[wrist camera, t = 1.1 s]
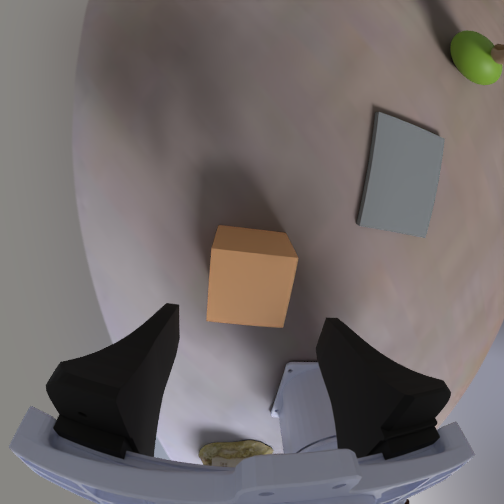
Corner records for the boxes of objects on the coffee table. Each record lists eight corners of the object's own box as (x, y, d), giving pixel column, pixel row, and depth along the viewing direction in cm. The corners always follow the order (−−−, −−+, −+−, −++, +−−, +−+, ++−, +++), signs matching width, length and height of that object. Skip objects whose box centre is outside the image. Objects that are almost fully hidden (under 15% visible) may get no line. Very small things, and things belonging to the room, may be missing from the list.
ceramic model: (193, 437, 30) (187, 497, 21) (274, 437, 31) (281, 498, 21) (206, 470, 35) (203, 516, 26) (269, 470, 36) (273, 516, 26)
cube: (274, 291, 22) (282, 327, 17) (213, 284, 22) (206, 321, 17) (285, 232, 20) (298, 257, 16) (218, 224, 20) (211, 248, 15)
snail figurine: (425, 47, 14) (521, 17, 3) (455, 32, 13) (537, 10, 2) (456, 98, 16) (557, 96, 5) (482, 77, 15) (567, 73, 3)
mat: (421, 235, 21) (425, 238, 20) (356, 223, 20) (359, 225, 20) (440, 138, 17) (444, 138, 17) (375, 112, 17) (378, 111, 16)
